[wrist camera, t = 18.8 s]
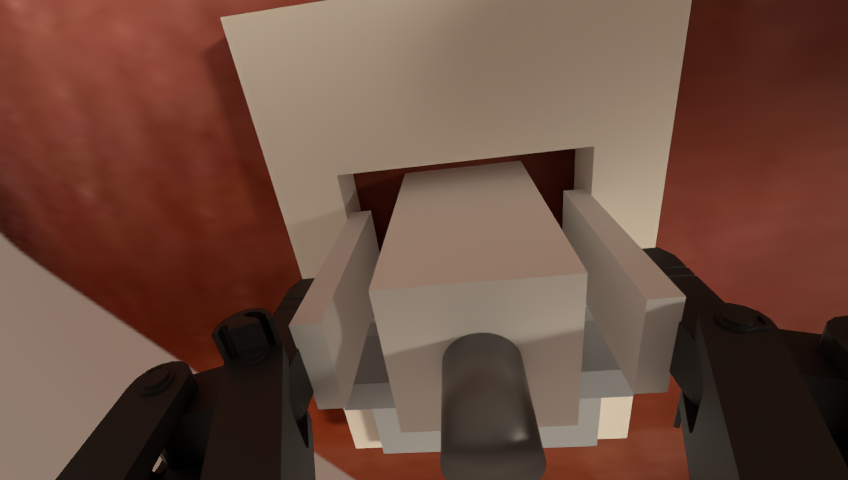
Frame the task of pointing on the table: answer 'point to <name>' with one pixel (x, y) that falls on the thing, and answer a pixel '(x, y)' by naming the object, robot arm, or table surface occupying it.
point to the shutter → (596, 383)
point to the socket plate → (460, 106)
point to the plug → (480, 318)
